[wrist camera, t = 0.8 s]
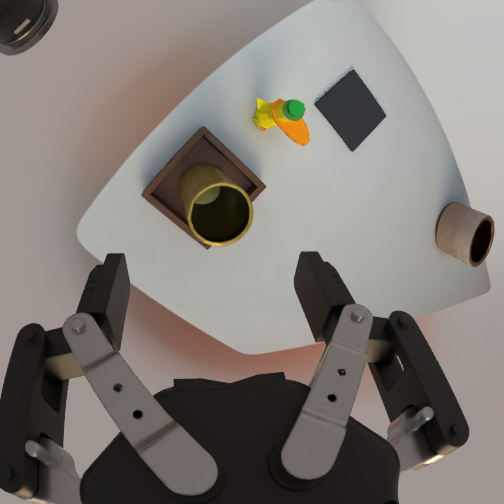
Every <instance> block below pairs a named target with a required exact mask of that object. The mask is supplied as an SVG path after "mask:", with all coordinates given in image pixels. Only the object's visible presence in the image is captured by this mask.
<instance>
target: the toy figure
mask: <svg viewBox="0 0 504 504" xmlns="http://www.w3.org/2000/svg"><path fill="white" fill-rule="evenodd" d="M257 106H258V108H257V110H256V112H255V113H254V117H255V118H254V119H253V122H254V123H255V125H257V126H258V127H259V128H260V129H262V130H265V129H266V128H271V127H275V126H279V127H280V128H281V129H282V130H283V132H284V133H285V134H286V135H287V136H288V137H289V138H290V139H292V140H293V141H294V142H296V143H298V144H300V145H302V146H305V145H306V144H307V143H309V132H308V128H307V125H306V124H305V122H304V120H303V118H302V117H303V115H304V111H305V107H304V104H303V103H302V102H300V101H298V100H288V101H284V100H282V99H279V100H277V101H275V102H274V103H267V102H265V101H263V100H261V99H259V98H257Z"/></svg>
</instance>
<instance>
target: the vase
mask: <svg viewBox="0 0 504 504" xmlns="http://www.w3.org/2000/svg"><path fill="white" fill-rule="evenodd" d="M178 191H179V195H180V197H181V199H182V201H183V203H184V206H185V211H186V217H187V220H188V223H189V227H190V229H191V231H192V233H193V234H194V235H195V236H196V237H197V238H198V239H200V240H201V241H202V242H204V243H206V244H208V245H214V246H225V245H229V244H232V243H234V242H236V241H238V240H239V239H240V238H242V237H243V236H244V235H245V234H246V232H247V231H248V230H249V228H250V226H251V224H252V219H253V207H252V203H251V200H250V198H249V196H248V194H247V193H246V192H245V191H244V190H243V189H242V188H241V187H239V186H238V185H237V184H235V183H234V182H233V181H231V180H230V179H229V178H228V177H227V176H226V175H225V174H224V173H223V172H222V170H221V169H220V168H218V167H217V166H215V165H213V164H210V163H197V164H194V165H192V166H191V167H189V168H188V169H186V170H185V171H184V173H183V174H182V176H181V178H180V180H179V185H178Z"/></svg>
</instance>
